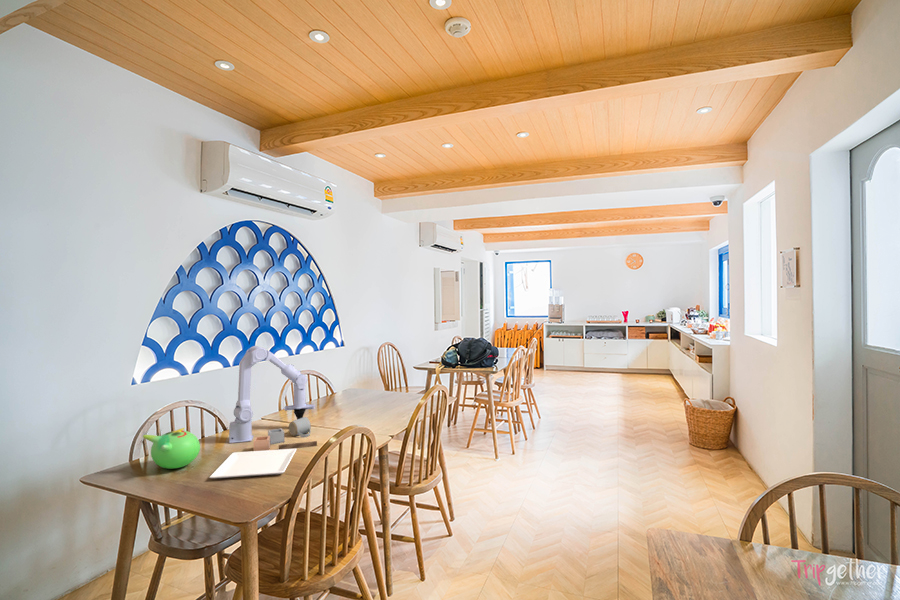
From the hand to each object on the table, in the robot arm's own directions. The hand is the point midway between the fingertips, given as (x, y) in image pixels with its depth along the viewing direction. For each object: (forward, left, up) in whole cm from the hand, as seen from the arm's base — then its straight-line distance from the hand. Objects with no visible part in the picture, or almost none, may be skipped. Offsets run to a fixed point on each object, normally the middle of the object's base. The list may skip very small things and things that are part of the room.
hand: (300, 423), depth 224 cm
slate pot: (-10, -18, -2) cm, 21 cm away
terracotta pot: (-15, -28, -2) cm, 32 cm away
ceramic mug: (+1, -11, -3) cm, 11 cm away
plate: (-15, -47, -3) cm, 50 cm away
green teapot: (-46, -38, -3) cm, 60 cm away
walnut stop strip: (0, -30, -2) cm, 30 cm away
